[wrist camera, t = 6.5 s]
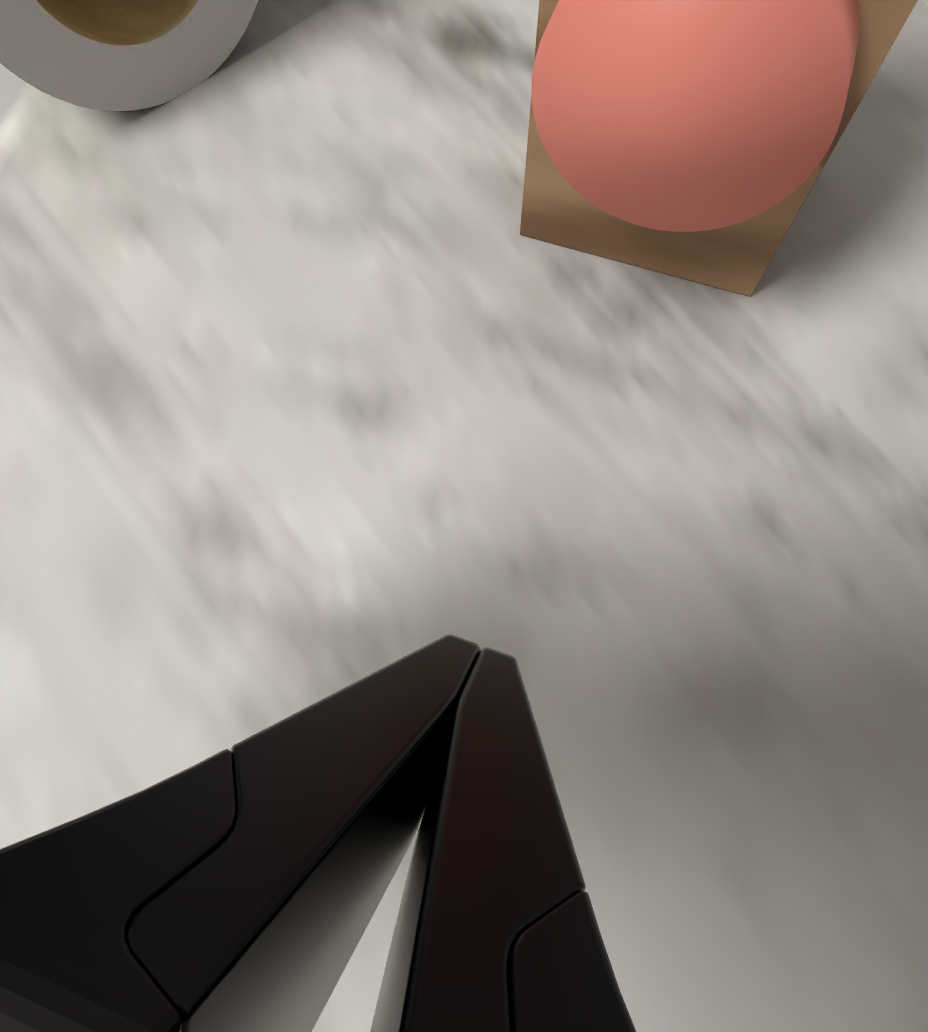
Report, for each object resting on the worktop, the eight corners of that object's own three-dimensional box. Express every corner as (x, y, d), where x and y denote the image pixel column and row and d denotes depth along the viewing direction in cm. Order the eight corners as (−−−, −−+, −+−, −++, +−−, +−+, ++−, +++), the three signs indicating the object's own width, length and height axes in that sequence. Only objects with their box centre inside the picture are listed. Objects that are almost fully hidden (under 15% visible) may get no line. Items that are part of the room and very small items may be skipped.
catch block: (748, 301, 20) (1028, -191, 10) (517, 239, 21) (559, -269, 11) (787, 151, 22) (1051, -383, 12) (576, 100, 23) (655, -434, 13)
